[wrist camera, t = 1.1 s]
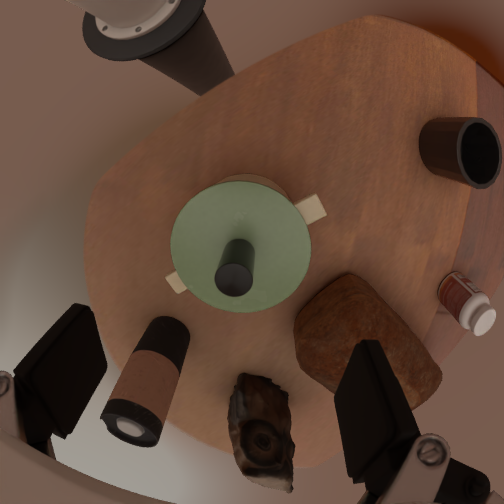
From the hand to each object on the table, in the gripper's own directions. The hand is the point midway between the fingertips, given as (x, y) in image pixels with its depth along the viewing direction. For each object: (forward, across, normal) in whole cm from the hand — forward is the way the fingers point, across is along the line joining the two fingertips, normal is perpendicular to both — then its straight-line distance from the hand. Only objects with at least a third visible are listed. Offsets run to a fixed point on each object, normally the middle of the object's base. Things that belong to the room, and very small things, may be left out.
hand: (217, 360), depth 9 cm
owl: (+28, -4, +36) cm, 46 cm away
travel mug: (+28, +12, +23) cm, 38 cm away
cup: (+28, -25, -11) cm, 39 cm away
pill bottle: (+28, -35, +10) cm, 46 cm away
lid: (+18, 0, +3) cm, 19 cm away
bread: (+28, -21, +20) cm, 40 cm away
